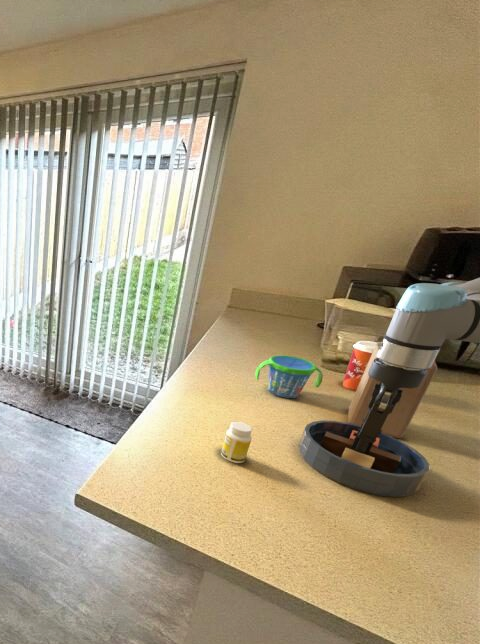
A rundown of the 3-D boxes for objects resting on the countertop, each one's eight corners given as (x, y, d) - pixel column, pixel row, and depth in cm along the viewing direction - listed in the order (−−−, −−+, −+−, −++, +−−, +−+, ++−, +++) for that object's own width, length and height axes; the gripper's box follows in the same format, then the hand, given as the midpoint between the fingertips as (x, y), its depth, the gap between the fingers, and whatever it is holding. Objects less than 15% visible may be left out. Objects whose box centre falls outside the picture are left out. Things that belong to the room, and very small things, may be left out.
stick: (392, 471, 83) (401, 456, 81) (391, 476, 81) (400, 461, 80) (320, 445, 91) (326, 431, 90) (318, 450, 90) (324, 435, 88)
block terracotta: (372, 454, 89) (380, 438, 87) (369, 463, 86) (377, 446, 85) (345, 445, 92) (353, 429, 90) (342, 454, 90) (350, 437, 88)
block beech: (365, 476, 83) (374, 457, 82) (365, 479, 80) (374, 459, 79) (337, 466, 86) (346, 447, 85) (336, 468, 83) (345, 448, 82)
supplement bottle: (248, 458, 90) (258, 427, 86) (239, 466, 87) (249, 435, 84) (225, 447, 93) (234, 418, 90) (216, 455, 91) (225, 425, 87)
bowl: (419, 467, 86) (431, 447, 84) (414, 514, 74) (427, 491, 72) (307, 429, 99) (314, 411, 97) (288, 464, 88) (295, 444, 85)
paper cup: (339, 388, 118) (357, 346, 113) (336, 379, 124) (352, 338, 119) (375, 396, 114) (395, 352, 109) (369, 385, 120) (388, 343, 114)
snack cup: (253, 395, 116) (262, 364, 112) (248, 380, 124) (257, 351, 120) (320, 407, 109) (333, 374, 105) (310, 390, 118) (321, 360, 114)
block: (402, 440, 95) (440, 366, 87) (346, 425, 101) (377, 354, 93) (399, 423, 101) (434, 352, 93) (347, 409, 108) (376, 342, 100)
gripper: (378, 347, 84) (338, 437, 93) (370, 368, 75) (326, 466, 84) (430, 357, 79) (381, 452, 88) (428, 382, 70) (374, 485, 79)
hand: (354, 459), depth 86 cm, fingers closed on stick, 2 cm apart
